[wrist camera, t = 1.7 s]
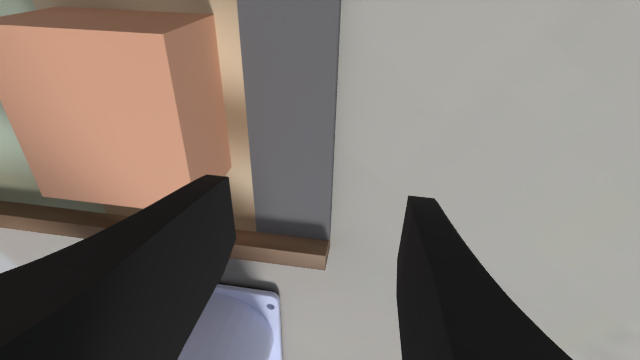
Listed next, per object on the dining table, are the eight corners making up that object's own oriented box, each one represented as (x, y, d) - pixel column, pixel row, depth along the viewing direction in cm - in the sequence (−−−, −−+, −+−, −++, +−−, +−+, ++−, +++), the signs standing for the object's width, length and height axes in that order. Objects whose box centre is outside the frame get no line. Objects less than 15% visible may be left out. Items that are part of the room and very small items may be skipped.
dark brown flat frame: (329, 247, 21) (324, 270, 20) (-82, 195, 25) (-113, 212, 23) (347, -147, 12) (341, -160, 11) (-303, -144, 16) (-377, -154, 14)
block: (231, 166, 19) (196, 214, 15) (102, 153, 20) (42, 196, 16) (213, 14, 15) (163, 34, 12) (55, 6, 16) (-35, 22, 13)
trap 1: (330, 233, 21) (328, 240, 20) (259, 225, 21) (256, 231, 21) (346, -109, 13) (344, -111, 12) (233, -110, 13) (226, -112, 13)
